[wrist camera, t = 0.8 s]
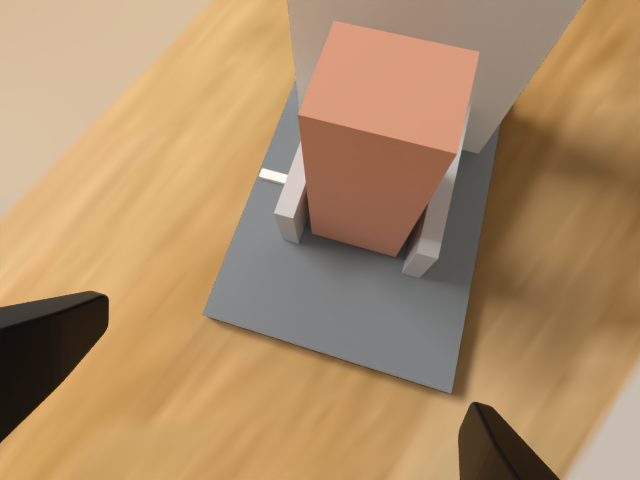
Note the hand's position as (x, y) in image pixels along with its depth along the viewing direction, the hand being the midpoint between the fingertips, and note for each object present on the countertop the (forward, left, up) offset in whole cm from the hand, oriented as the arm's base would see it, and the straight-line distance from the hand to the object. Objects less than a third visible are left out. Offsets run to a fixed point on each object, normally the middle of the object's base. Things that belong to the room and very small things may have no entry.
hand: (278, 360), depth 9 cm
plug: (+9, -2, -12) cm, 15 cm away
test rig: (+11, -3, -13) cm, 17 cm away
